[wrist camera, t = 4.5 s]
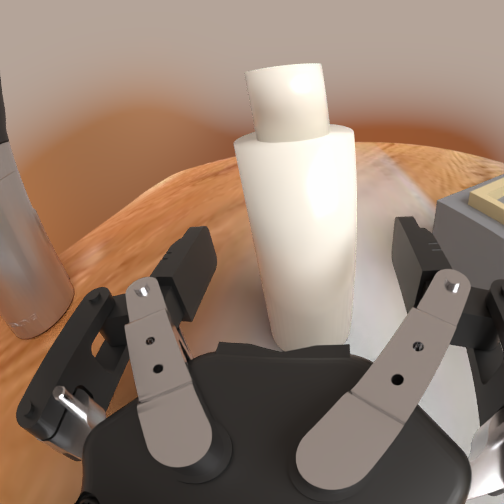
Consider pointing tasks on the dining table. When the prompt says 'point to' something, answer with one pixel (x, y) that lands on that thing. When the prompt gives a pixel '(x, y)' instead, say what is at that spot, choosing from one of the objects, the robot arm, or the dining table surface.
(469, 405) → the dining table surface
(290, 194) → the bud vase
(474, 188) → the display riser
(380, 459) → the robot arm
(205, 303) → the dining table surface
